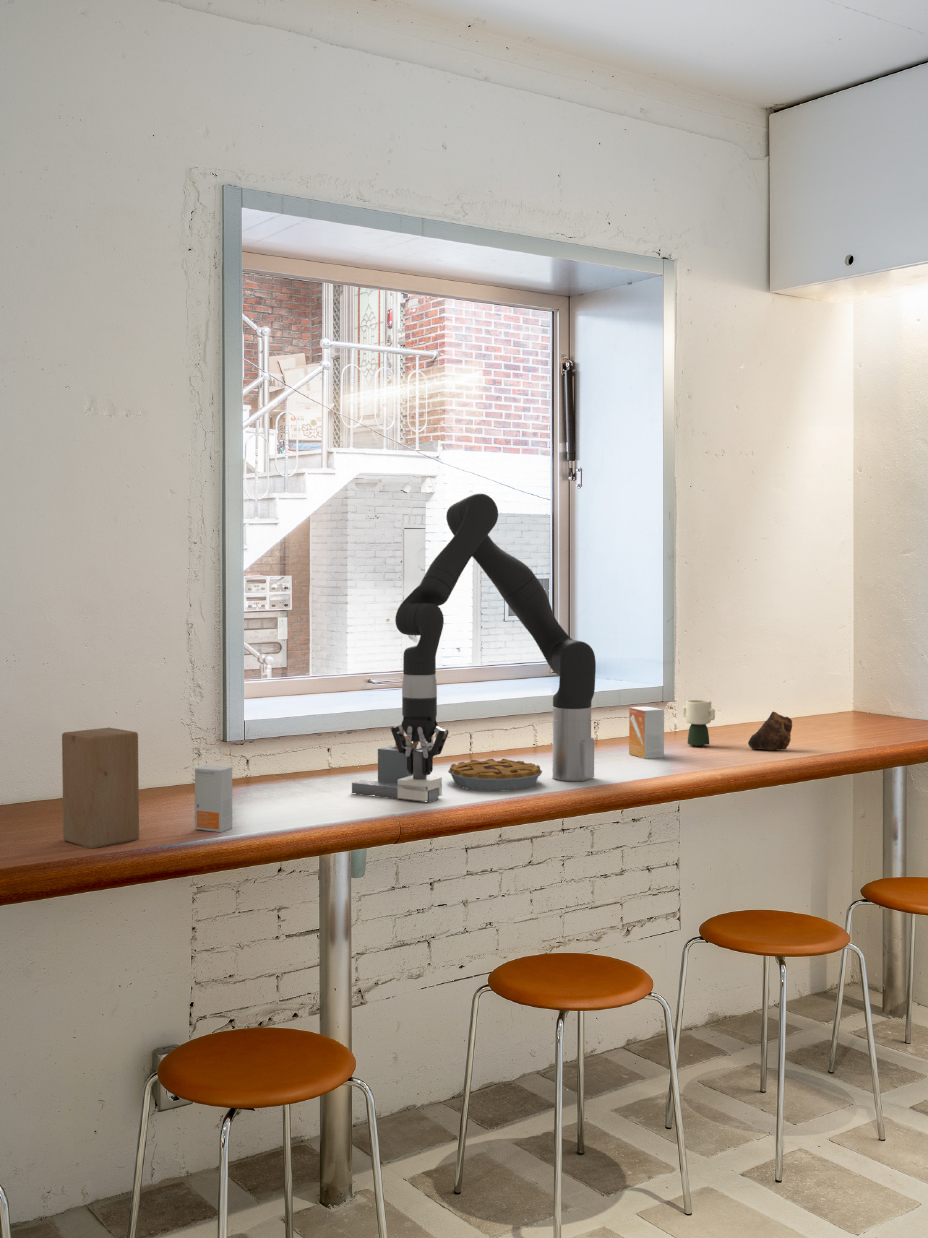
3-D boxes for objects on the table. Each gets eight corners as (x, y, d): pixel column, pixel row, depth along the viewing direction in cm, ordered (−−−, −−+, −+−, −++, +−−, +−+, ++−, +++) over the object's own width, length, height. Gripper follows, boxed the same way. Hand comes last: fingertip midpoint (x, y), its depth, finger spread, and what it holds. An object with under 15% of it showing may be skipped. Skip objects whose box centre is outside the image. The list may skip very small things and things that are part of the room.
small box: (628, 754, 308) (628, 707, 308) (648, 753, 311) (648, 706, 310) (644, 759, 301) (644, 710, 300) (664, 757, 303) (664, 709, 303)
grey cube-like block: (425, 785, 263) (425, 746, 262) (407, 791, 256) (407, 751, 255) (396, 782, 267) (396, 744, 266) (377, 787, 260) (377, 748, 259)
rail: (438, 799, 246) (438, 788, 246) (428, 802, 243) (428, 791, 242) (362, 791, 256) (361, 780, 256) (351, 794, 252) (351, 782, 252)
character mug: (721, 747, 322) (722, 701, 321) (706, 749, 317) (707, 703, 317) (690, 743, 330) (690, 698, 329) (675, 745, 325) (675, 700, 325)
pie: (434, 780, 271) (434, 759, 271) (516, 773, 280) (516, 753, 279) (471, 796, 251) (471, 773, 251) (558, 789, 259) (558, 767, 259)
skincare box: (194, 830, 216) (193, 768, 216) (206, 825, 220) (206, 764, 220) (221, 833, 214) (220, 770, 214) (233, 828, 218) (233, 766, 217)
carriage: (441, 795, 247) (441, 750, 247) (425, 801, 241) (425, 754, 241) (414, 792, 251) (414, 747, 250) (397, 798, 245) (397, 752, 244)
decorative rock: (791, 749, 318) (791, 711, 318) (793, 752, 312) (794, 713, 312) (747, 748, 320) (747, 710, 320) (749, 751, 314) (749, 712, 314)
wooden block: (90, 849, 201) (89, 737, 200) (62, 840, 208) (60, 732, 207) (140, 839, 208) (139, 731, 208) (111, 831, 215) (109, 727, 214)
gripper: (456, 695, 245) (456, 774, 246) (401, 691, 252) (401, 768, 253) (438, 698, 238) (438, 779, 239) (382, 694, 245) (383, 774, 246)
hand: (419, 773), depth 246 cm, fingers closed on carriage, 3 cm apart
